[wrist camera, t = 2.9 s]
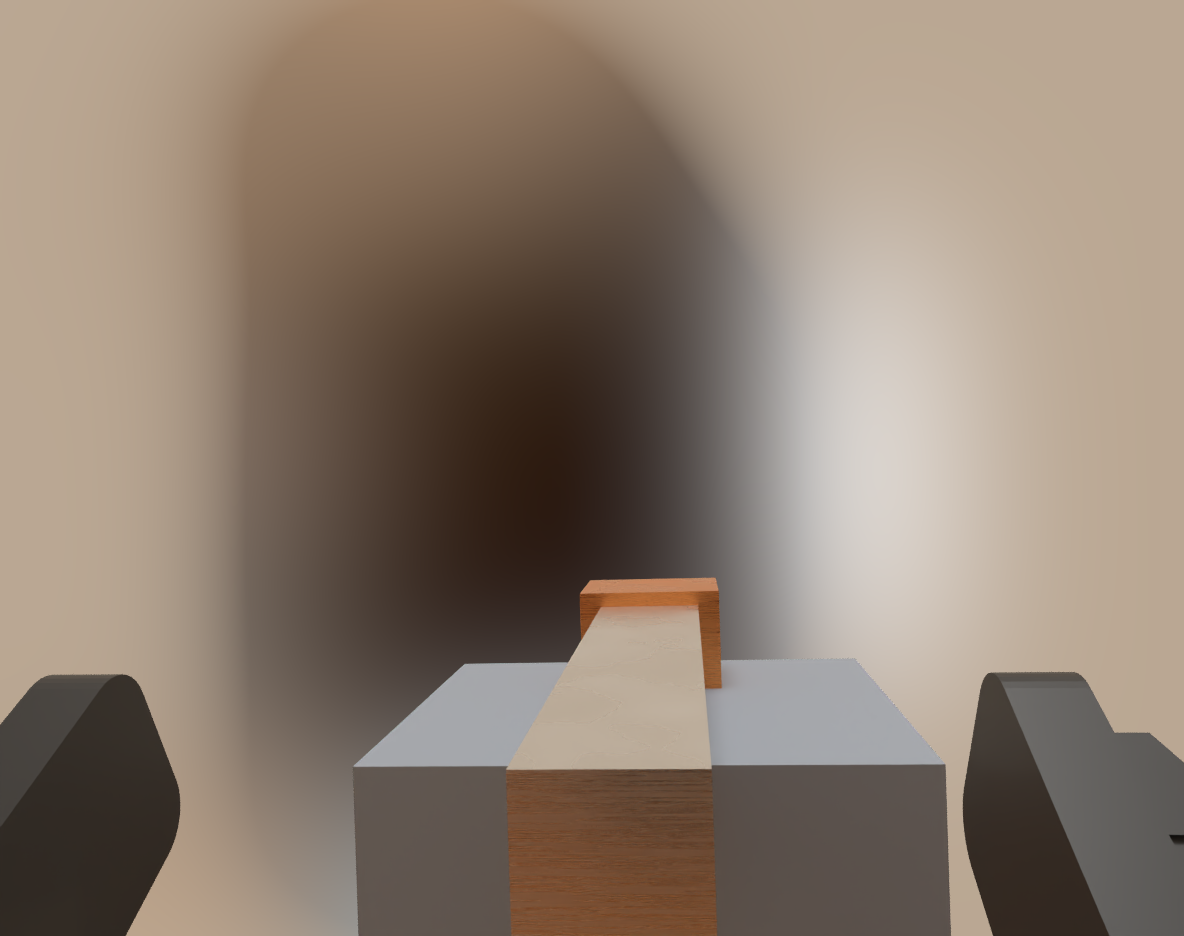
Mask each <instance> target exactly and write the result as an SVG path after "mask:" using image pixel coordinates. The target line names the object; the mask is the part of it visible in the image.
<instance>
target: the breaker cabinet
mask: <svg viewBox="0 0 1184 936" xmlns="http://www.w3.org/2000/svg"><path fill="white" fill-rule="evenodd" d="M567 664H568V663H505V664H504V663H502V664H464V665H463V666H462V667H461V668H460V669H459V670H458V671H457V672H456V673H455V674H453V675H452V676H451V677H450V678H449V679H448V680H447V681H446V682H445V683H444V684H443V685H441V686H440V687H439V688H438V689H437V690H436V691H435V692H434V693H433V694H432V695H431V696H429V697H428V698H427V699H426V700H425V701H424V702H423V703H422V704H421V705H420V706H419V707H417V708H416V709H415V710H414V711H413V712H412V713H411V714H410V715H409V716H408V717H407V718H405V719H404V720H403V721H402V722H401V723H400V724H399V725H398V726H397V727H396V728H395V729H393V730H392V731H391V732H390V733H389V734H388V735H387V736H386V737H385V738H384V739H383V740H382V741H380V742H379V743H378V744H377V745H376V746H375V747H374V748H373V749H372V750H371V751H369V752H368V753H367V754H366V755H365V756H364V757H363V758H362V759H361V760H360V761H359V762H358V763H356V764H355V765H354V766H353V786H354V814H355V843H356V871H357V872H356V874H357V901H358V902H357V903H358V933H359V936H511V909H510V879H509V849H508V818H507V788H506V769H507V767H508V765H509V763H510V762H511V760H512V758H513V757H514V755H515V753H516V751H517V750H518V748H519V746H520V745H521V743H522V741H523V740H524V738H525V736H526V734H527V733H528V731H529V729H530V728H531V726H532V724H533V722H534V721H535V719H536V717H537V716H538V714H539V712H540V710H541V709H542V707H543V705H544V704H545V702H546V700H547V698H548V697H549V695H550V693H551V692H552V690H553V688H554V686H555V685H556V683H557V681H558V680H559V678H560V676H561V674H562V673H563V671H564V669H565V668H566V666H567ZM721 680H722V688H715V689H705V695H706V707H707V719H708V731H709V743H710V755H711V767H712V794H713V825H714V855H715V886H716V917H717V936H951V925H950V896H949V895H950V894H949V862H948V832H947V799H946V769H945V763H944V762H943V761H942V760H941V759H940V757H939V756H938V755H937V754H936V753H935V752H934V750H933V749H932V748H931V747H930V746H929V745H928V744H927V742H926V741H925V740H924V739H923V738H922V736H921V735H920V734H919V733H918V732H917V731H916V730H915V728H914V727H913V726H912V725H911V724H910V722H909V721H908V720H907V719H906V718H905V717H904V716H903V714H902V713H901V712H900V711H899V710H898V708H897V707H896V706H895V705H894V704H893V703H892V701H891V700H890V699H889V698H888V697H887V696H886V694H885V693H884V692H883V691H882V690H881V689H880V687H879V686H878V685H877V684H876V683H875V682H874V680H873V679H872V678H871V677H870V676H869V675H868V673H867V672H866V671H865V670H864V669H863V668H862V666H861V665H860V664H859V663H858V662H857V661H856V659H795V660H794V659H790V660H721Z"/></svg>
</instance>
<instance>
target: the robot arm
mask: <svg viewBox="0 0 1184 936" xmlns="http://www.w3.org/2000/svg"><path fill="white" fill-rule="evenodd" d="M179 817H180V794H179V788H178V784H177V781H176V779H175V776H174V773H173V771H172V768H171V766H170V763H169V760H168V758H167V755H166V752H165V750H164V747H163V745H162V742H161V740H160V737H159V734H158V731H157V729H156V726H155V724H154V721H153V718H152V716H151V713H150V710H149V708H148V705H147V703H146V700H145V697H144V695H143V692H142V690H141V688H140V686H139V685H138V683H137V682H136V681H135V680H134V679H133V678H132V677H130V676H128V675H49V676H46V677H44V678H41V679H40V680H39V681H37V682H36V683H35V684H34V685H33V686H32V687H31V688H30V689H29V690H28V691H27V693H26V694H25V695H24V696H23V698H22V699H21V700H20V701H19V702H18V704H17V705H16V706H15V708H14V709H13V710H12V711H11V712H10V714H9V715H8V716H7V717H6V718H5V720H4V721H3V722H2V723H1V725H0V936H126V934H127V932H128V930H129V928H130V926H131V924H132V923H133V921H134V919H135V917H136V915H137V913H138V911H139V909H140V907H141V906H142V904H143V902H144V900H145V898H146V896H147V894H148V892H149V890H150V888H151V887H152V885H153V883H154V881H155V879H156V877H157V875H158V873H159V871H160V869H161V868H162V866H163V864H164V862H165V860H166V858H167V856H168V854H169V852H170V850H171V848H172V845H173V843H174V840H175V837H176V833H177V829H178V823H179ZM963 822H964V832H965V840H966V845H967V850H968V855H969V859H970V863H971V867H972V869H973V873H974V876H975V879H976V882H977V886H978V889H979V892H980V895H981V899H982V902H983V905H984V908H985V911H986V915H987V918H988V921H989V924H990V927H991V930H992V934H993V936H1184V762H1182V761H1181V760H1180V759H1179V758H1178V757H1177V756H1175V755H1174V754H1173V753H1172V752H1171V751H1170V750H1169V749H1167V748H1166V747H1165V746H1164V745H1163V744H1161V742H1159V741H1158V740H1157V739H1156V738H1155V737H1153V736H1152V735H1151V734H1150V733H1114V731H1113V730H1112V728H1111V726H1110V724H1109V722H1108V720H1107V718H1106V716H1105V714H1104V712H1103V711H1102V709H1101V707H1100V705H1099V703H1098V701H1097V700H1096V698H1095V696H1094V694H1093V692H1092V690H1091V689H1090V687H1089V685H1088V683H1087V682H1086V680H1085V679H1084V678H1083V677H1082V676H1081V675H1079V674H1078V673H1075V672H1024V673H1023V672H1021V673H1020V672H1019V673H1017V672H1016V673H988V674H987V675H986V676H985V678H984V680H983V683H982V685H981V690H980V695H979V701H978V708H977V714H976V720H975V726H974V732H973V738H972V744H971V751H970V756H969V762H968V768H967V774H966V780H965V786H964V794H963Z"/></svg>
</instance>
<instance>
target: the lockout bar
mask: <svg viewBox="0 0 1184 936" xmlns="http://www.w3.org/2000/svg"><path fill="white" fill-rule="evenodd" d="M580 613H581V642H580V644H579V645H578V647H577V649H576V651H575V652H574V654H573V656H572V657H571V659H570V661H569V662H568V664H567V666H566V668H565V669H564V671H563V673H562V674H561V676H560V678H559V680H558V681H557V683H556V685H555V686H554V688H553V690H552V692H551V693H550V695H549V697H548V698H547V700H546V702H545V704H544V705H543V707H542V709H541V710H540V712H539V714H538V716H537V717H536V719H535V721H534V722H533V724H532V726H531V728H530V729H529V731H528V733H527V734H526V736H525V738H524V740H523V741H522V743H521V745H520V746H519V748H518V750H517V751H516V753H515V755H514V757H513V758H512V760H511V762H510V763H509V765H508V767H507V769H506V788H507V818H508V849H509V879H510V909H511V936H717V917H716V886H715V855H714V825H713V794H712V767H711V755H710V743H709V731H708V719H707V707H706V695H705V689H715V688H722V680H721V649H720V619H719V591H718V587H717V582H716V579H715V578H682V579H637V580H593V581H592V580H591V581H590V582H589V583H588V584H587V585H586V587H585V588H584V589H583V591H582V592H581V593H580Z"/></svg>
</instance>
